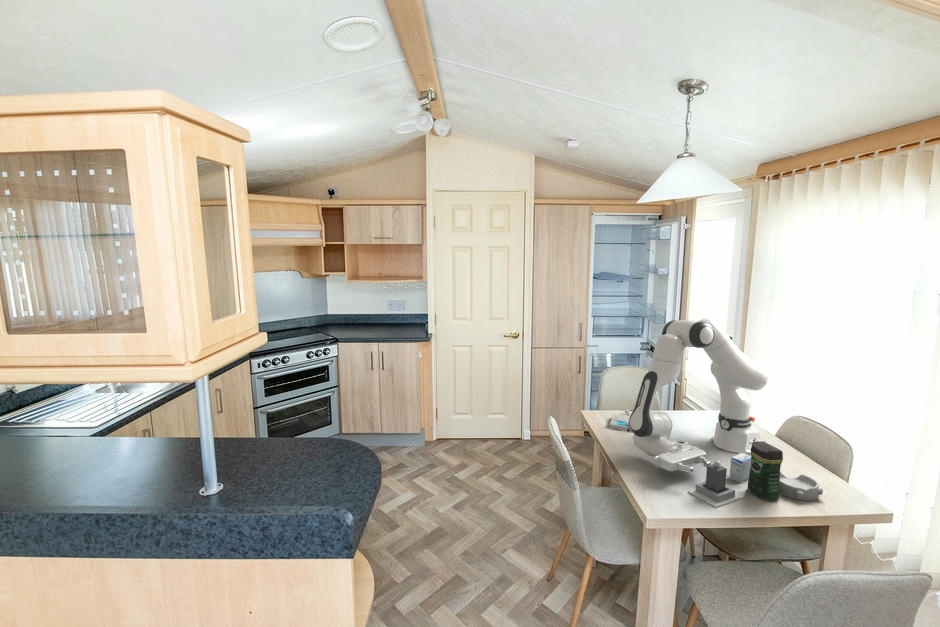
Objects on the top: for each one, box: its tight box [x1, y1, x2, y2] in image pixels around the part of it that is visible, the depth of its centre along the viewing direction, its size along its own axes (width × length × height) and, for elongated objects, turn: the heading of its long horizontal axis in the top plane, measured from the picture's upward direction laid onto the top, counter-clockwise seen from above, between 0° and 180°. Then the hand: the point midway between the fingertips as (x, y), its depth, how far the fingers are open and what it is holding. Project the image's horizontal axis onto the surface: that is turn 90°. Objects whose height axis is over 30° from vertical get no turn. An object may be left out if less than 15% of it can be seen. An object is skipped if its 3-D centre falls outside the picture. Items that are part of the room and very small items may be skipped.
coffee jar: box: [747, 440, 784, 501], centre depth 160 cm, size 10×8×19 cm
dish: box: [780, 471, 824, 501], centre depth 163 cm, size 14×14×5 cm
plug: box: [705, 460, 728, 494], centre depth 160 cm, size 4×4×12 cm
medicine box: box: [728, 453, 751, 484], centre depth 172 cm, size 8×4×9 cm, turn 123°
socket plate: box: [687, 480, 743, 509], centre depth 161 cm, size 14×11×3 cm
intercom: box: [609, 408, 634, 433], centre depth 230 cm, size 13×4×25 cm
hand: (700, 467), depth 165 cm, fingers open, 8 cm apart
